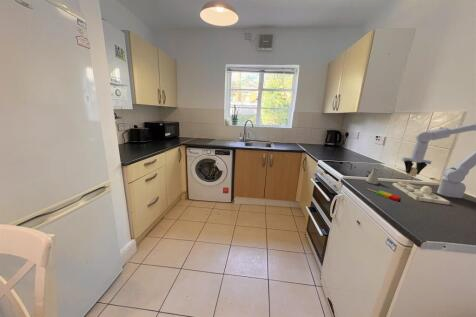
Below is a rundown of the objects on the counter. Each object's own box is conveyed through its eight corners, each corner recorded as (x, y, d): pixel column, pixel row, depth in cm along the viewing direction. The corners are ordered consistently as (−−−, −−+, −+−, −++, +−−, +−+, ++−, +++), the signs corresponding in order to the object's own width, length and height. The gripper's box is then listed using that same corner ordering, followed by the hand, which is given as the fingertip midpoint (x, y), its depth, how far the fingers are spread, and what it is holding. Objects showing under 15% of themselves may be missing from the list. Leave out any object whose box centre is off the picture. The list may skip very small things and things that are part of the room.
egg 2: (426, 193, 106) (429, 185, 104) (432, 197, 101) (435, 188, 100) (417, 192, 106) (420, 184, 105) (422, 195, 102) (426, 187, 101)
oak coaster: (408, 183, 123) (408, 182, 123) (416, 188, 116) (417, 187, 115) (394, 181, 125) (395, 180, 124) (402, 186, 117) (402, 185, 117)
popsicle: (396, 202, 93) (397, 198, 93) (364, 190, 106) (364, 187, 105) (400, 200, 97) (401, 197, 96) (368, 189, 109) (369, 186, 108)
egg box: (418, 189, 113) (419, 186, 113) (448, 205, 93) (450, 201, 93) (391, 186, 116) (392, 182, 115) (416, 201, 96) (417, 197, 95)
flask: (381, 185, 115) (385, 170, 113) (368, 183, 117) (372, 168, 114) (375, 181, 122) (379, 167, 120) (363, 179, 123) (367, 165, 121)
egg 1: (412, 174, 116) (415, 166, 115) (417, 176, 112) (420, 168, 111) (404, 173, 117) (407, 165, 116) (409, 175, 113) (412, 167, 112)
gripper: (427, 152, 114) (420, 173, 117) (401, 149, 116) (394, 170, 120) (437, 154, 107) (429, 176, 110) (408, 151, 110) (401, 173, 113)
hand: (411, 173), depth 114 cm, fingers closed on egg 1, 4 cm apart
